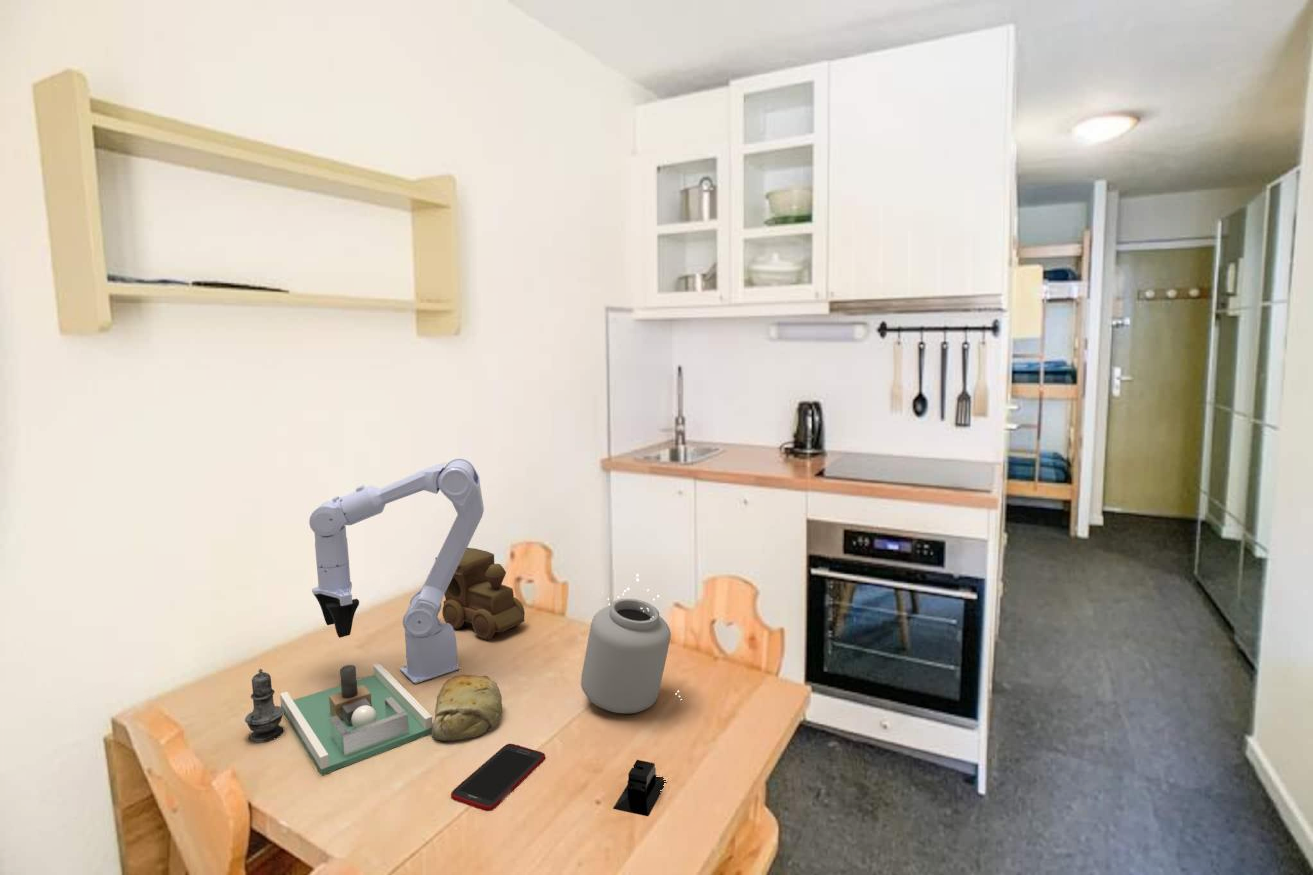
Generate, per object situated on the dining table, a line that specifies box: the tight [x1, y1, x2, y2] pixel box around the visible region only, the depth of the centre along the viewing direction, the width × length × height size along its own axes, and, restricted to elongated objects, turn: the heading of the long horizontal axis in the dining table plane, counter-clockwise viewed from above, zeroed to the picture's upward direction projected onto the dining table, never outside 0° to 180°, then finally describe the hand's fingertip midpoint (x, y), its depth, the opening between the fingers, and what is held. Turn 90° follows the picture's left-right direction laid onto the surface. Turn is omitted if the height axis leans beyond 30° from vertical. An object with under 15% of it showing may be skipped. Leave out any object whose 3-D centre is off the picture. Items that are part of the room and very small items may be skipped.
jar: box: [580, 573, 683, 714], centre depth 129 cm, size 19×15×25 cm
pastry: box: [431, 674, 503, 742], centre depth 124 cm, size 14×12×8 cm
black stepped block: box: [612, 759, 668, 817], centre depth 105 cm, size 12×7×5 cm, turn 160°
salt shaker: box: [244, 668, 285, 744], centre depth 120 cm, size 6×6×12 cm
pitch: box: [279, 663, 434, 776], centre depth 125 cm, size 18×26×3 cm
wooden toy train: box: [434, 547, 525, 641], centre depth 164 cm, size 20×11×17 cm, turn 55°
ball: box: [351, 705, 377, 728], centre depth 121 cm, size 4×4×4 cm
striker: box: [329, 664, 372, 726], centre depth 125 cm, size 6×7×8 cm
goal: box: [329, 697, 409, 757], centre depth 119 cm, size 10×8×4 cm
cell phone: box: [450, 743, 546, 812], centre depth 109 cm, size 8×15×1 cm, turn 155°
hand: (338, 629), depth 139 cm, fingers open, 7 cm apart
